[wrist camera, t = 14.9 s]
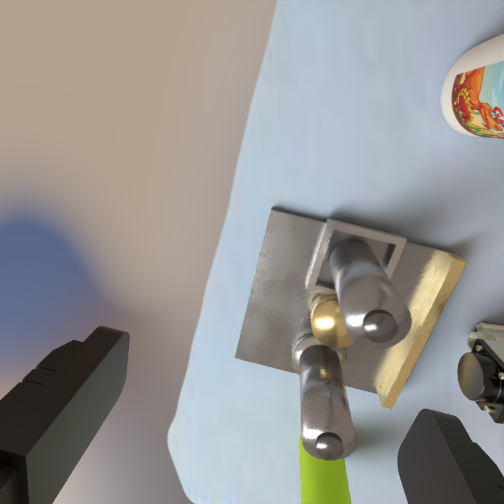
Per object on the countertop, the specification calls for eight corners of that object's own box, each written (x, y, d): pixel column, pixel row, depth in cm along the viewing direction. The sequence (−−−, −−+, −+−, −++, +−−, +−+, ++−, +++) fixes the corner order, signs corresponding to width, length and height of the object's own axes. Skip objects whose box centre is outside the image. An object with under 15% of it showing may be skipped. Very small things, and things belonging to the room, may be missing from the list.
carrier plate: (272, 202, 36) (262, 246, 23) (456, 246, 35) (548, 316, 22) (235, 353, 43) (212, 448, 31) (385, 391, 43) (425, 503, 30)
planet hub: (337, 236, 35) (359, 293, 23) (381, 246, 35) (426, 309, 23) (323, 275, 37) (338, 347, 25) (365, 285, 37) (400, 362, 25)
